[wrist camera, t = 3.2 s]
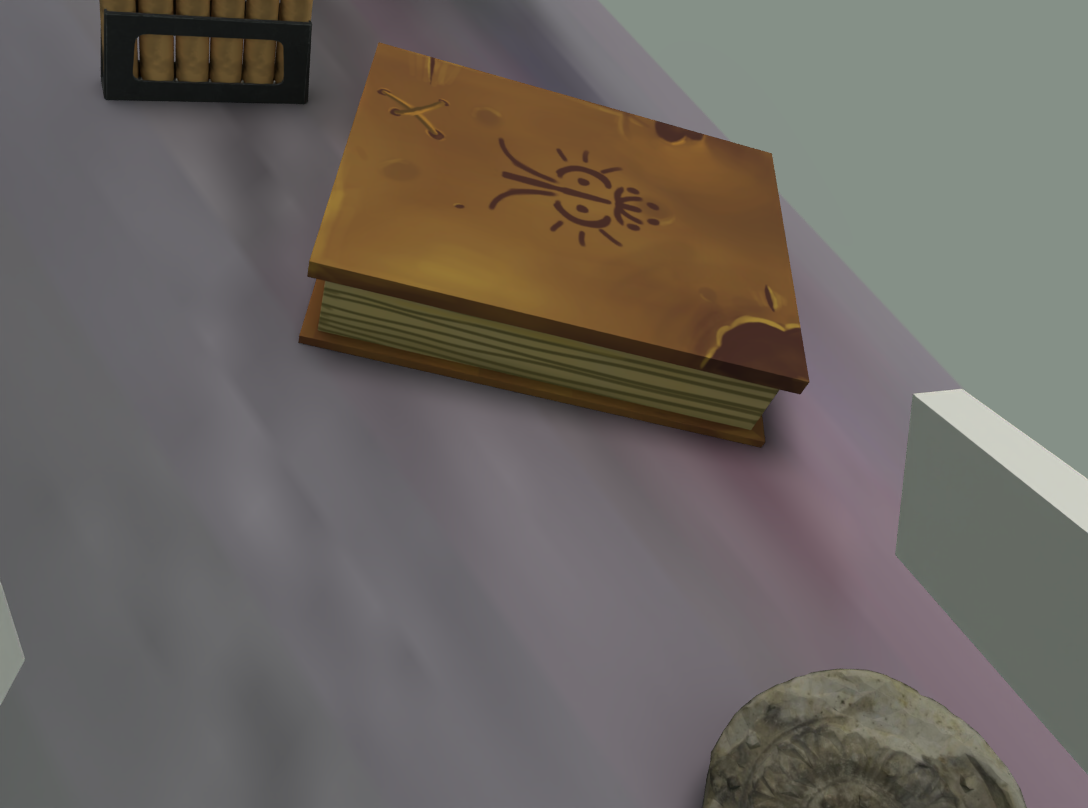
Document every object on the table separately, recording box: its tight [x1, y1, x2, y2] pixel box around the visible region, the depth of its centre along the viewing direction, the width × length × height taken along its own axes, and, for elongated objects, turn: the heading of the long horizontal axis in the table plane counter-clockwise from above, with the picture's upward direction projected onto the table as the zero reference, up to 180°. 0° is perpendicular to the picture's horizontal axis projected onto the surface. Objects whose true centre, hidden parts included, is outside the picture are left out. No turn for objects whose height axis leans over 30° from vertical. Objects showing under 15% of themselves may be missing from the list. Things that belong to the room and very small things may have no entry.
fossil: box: [702, 669, 1027, 808], centre depth 35 cm, size 11×9×10 cm
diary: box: [298, 43, 809, 447], centre depth 52 cm, size 23×19×6 cm
